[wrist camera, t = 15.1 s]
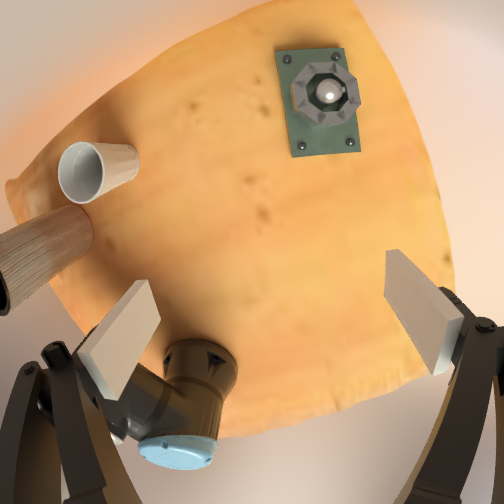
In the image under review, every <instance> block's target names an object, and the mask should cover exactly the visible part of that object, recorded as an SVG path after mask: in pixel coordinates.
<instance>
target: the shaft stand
mask: <svg viewBox="0 0 504 504" xmlns="http://www.w3.org/2000/svg"><path fill="white" fill-rule="evenodd" d="M275 59H276V64H277V70H278V75H279V81H280V86H281V92H282V98H283V104H284V110H285V116H286V122H287V128H288V135H289V142H290V149H291V156H292V158H295V157H304V156H314V155H325V154H337V153H350V152H361V147H360V139H359V131H358V123H357V116H356V111H355V112H354V113H353V114H352V116H351V117H350V118H349V119H348V121H347V122H346V123H343V124H340V125H336V126H324V127H311V126H309V125H308V124H307V123H305V122H304V121H303V120H301V119H300V118H299V117H297V116H296V115H295V114H293V112H292V106H291V100H290V94H289V89H290V86H291V83H292V81H293V80H294V79H295V78H296V77H297V75H298V74H299V73H300V72H301V71H302V69H303V68H304V67H305V66H306V65H307V64H308V63H314V62H336V63H337V64H339V65H340V66H341V67H343V68H344V69H345V70H346V71H348V66H347V61H346V56H345V52H344V48H315V49H297V50H285V51H275ZM348 72H349V71H348ZM306 91H307V97H308V102H310V103H311V104H312V105H314V106H315V107H316V108H318V109H319V110H320V111H321V112H333V110H334V109H335V108H336V107H337V100H338V99H339V98H340V97H341V95H342V94H343V93H344V92H345V87H341V85H340V84H339V83H338V82H337V81H336V80H333V79H325V80H323V81H322V82H321V83H309V84H308V85H307V86H306Z"/></svg>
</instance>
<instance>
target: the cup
mask: <svg viewBox="0 0 504 504" xmlns="http://www.w3.org/2000/svg"><path fill="white" fill-rule="evenodd" d="M139 167H140V159H139V155H138V153H137V151H136V150H135V149H134V148H133V147H132V146H130V145H127V144H109V143H96V142H85V141H80V142H76V143H73V144H71V145H70V146H69V147H68V148H67V149H66V150H65V151H64V153H63V154H62V156H61V159H60V162H59V166H58V180H59V184H60V187H61V189H62V191H63V193H64V194H65V196H66V197H67V198H68V199H70V200H71V201H73V202H75V203H78V204H85V203H89V202H91V201H92V200H94V199H96V198H97V197H99V196H101V195H103V194H104V193H106V192H108V191H110V190H112V189H114V188H116V187H118V186H120V185H121V184H123V183H126V182H129V181H131V180H132V179H133V178H134V177H135V176H136V175H137V173H138V171H139Z"/></svg>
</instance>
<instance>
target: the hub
mask: <svg viewBox="0 0 504 504" xmlns="http://www.w3.org/2000/svg"><path fill="white" fill-rule="evenodd" d="M325 79H333V80H336V81H337V82H338V83H339V84H340V85H341V87H345V92H344V93H343V94H342V95H341V97H340V98H339V99H338V100H337V107H336V108H335V109H334V110H333V112H321V111H320V110H319V109H318V108H316V107H315V106H314V105H312V104H311V103H310V102H308V97H307V91H306V86H307V85H308V84H309V83H321V82H322V81H323V80H325ZM289 94H290V100H291V106H292V112H293V114H295V115H296V116H297V117H299V118H300V119H301V120H303V121H304V122H305V123H307V124H308V125H309V126H311V127H324V126H336V125H340V124H343V123H346V122H347V121H348V119H349V118H350V117H351V116H352V114H353V113H354V112H355V111H356V109H357V108H358V107H359V106H360V105H361V101H360V95H359V89H358V84H357V79H356V78H355V77H354V76H353V75H351V74H350V73H349V72H348V71H346V70H345V69H344V68H343V67H341V66H340V65H339V64H337V63H336V62H314V63H308V64H307V65H306V66H305V67H304V68H303V69H302V71H301V72H300V73H299V74H298V75H297V77H296V78H295V79H294V80H293V81H292V83H291V86H290V89H289Z"/></svg>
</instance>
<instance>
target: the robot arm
mask: <svg viewBox="0 0 504 504" xmlns="http://www.w3.org/2000/svg"><path fill="white" fill-rule="evenodd" d="M384 297H385V298H386V300H387V301H388V303H389V304H390V306H391V308H392V309H393V311H394V312H395V314H396V315H397V317H398V319H399V320H400V322H401V323H402V325H403V327H404V328H405V330H406V332H407V333H408V335H409V337H410V338H411V340H412V342H413V343H414V345H415V347H416V348H417V350H418V352H419V354H420V355H421V357H422V359H423V361H424V362H425V364H426V366H427V368H428V370H429V371H430V373H431V375H432V376H434V375H438V374H441V373H444V372H447V371H448V368H449V365H450V362H451V361H452V363H453V364H454V366H455V369H454V371H453V374H452V377H451V379H450V381H449V384H448V385H449V387H448V390H447V393H446V396H445V399H444V402H443V404H442V407H441V410H440V412H439V415H438V417H437V420H436V422H435V425H434V427H433V429H432V432H431V434H430V436H429V439H428V441H427V443H426V445H425V447H424V449H423V451H422V453H421V455H420V458H419V460H418V461H417V463H416V465H415V467H414V469H413V471H412V473H411V475H410V476H409V478H408V480H407V482H406V484H405V485H404V487H403V489H402V490H401V492H400V494H399V495H398V497H397V499H396V500H395V502H394V503H393V504H461V503H462V500H461V499H460V494H461V491H462V489H463V486H464V484H465V481H466V478H467V476H468V474H469V471H470V468H471V465H472V462H473V460H474V457H475V454H476V451H477V447H478V444H479V441H480V437H481V433H482V430H483V426H484V422H485V418H486V413H487V409H488V404H489V399H490V394H491V387H492V382H493V385H494V395H495V409H496V438H497V439H496V466H495V478H494V488H493V495H492V502H491V504H504V326H502V327H497V325H496V324H495V323H494V322H493V321H492V320H491V319H488V318H485V317H476V316H475V315H474V314H473V313H472V312H471V311H470V310H469V309H468V308H467V306H466V305H465V304H464V303H462V301H461V300H460V299H459V298H457V296H456V295H455V294H454V293H453V292H452V291H450V290H448V289H447V288H445V287H439V288H438V287H437V286H436V285H435V284H434V283H433V282H432V281H431V280H430V279H429V278H428V277H427V276H426V275H425V274H424V273H423V272H422V271H421V270H420V269H419V268H418V267H417V266H416V265H415V264H414V263H413V262H412V261H411V260H410V259H408V258H407V257H406V256H405V255H404V254H403V253H402V252H401V251H400V250H399V249H396V250H389V251H386V270H385V288H384ZM160 321H161V317H160V315H159V312H158V309H157V306H156V303H155V300H154V297H153V294H152V291H151V288H150V285H149V282H148V279H144V280H136V281H135V282H134V283H133V285H132V286H131V287H130V288H129V289H128V290H127V292H126V293H125V294H124V295H123V296H122V297H121V299H120V300H119V301H118V302H117V303H116V304H115V306H114V307H113V308H112V309H111V310H110V312H109V313H108V314H107V315H106V316H105V318H104V319H103V320H102V321H101V322H100V324H98V325H97V326H96V327H94V328H93V329H92V330H91V331H90V332H89V333H88V335H87V337H85V338H84V340H83V342H81V343H80V345H79V346H78V347H77V348H76V350H75V351H74V352H73V354H72V355H70V353H69V351H68V349H67V347H66V346H65V343H64V342H62V341H55V342H52V343H50V344H48V345H47V346H46V347H45V348H44V349H43V350H42V352H41V356H42V358H43V359H44V361H45V362H46V364H47V366H48V367H49V368H48V369H42V368H41V367H40V365H39V364H38V362H36V361H31V362H27V363H26V364H24V365H23V366H22V368H21V369H20V370H19V373H18V375H17V378H16V381H15V384H14V387H13V389H12V393H11V395H10V398H9V402H8V405H7V408H6V411H5V415H4V419H3V422H2V426H1V430H0V504H142V502H141V500H140V498H139V496H138V494H137V493H136V490H135V488H134V486H133V484H132V482H131V480H130V479H129V476H128V474H127V472H126V470H125V468H124V466H123V463H122V461H121V459H120V456H119V454H118V451H117V449H116V447H115V445H117V444H122V443H123V441H124V439H125V437H126V435H129V436H130V437H132V438H133V439H135V440H137V441H139V444H138V451H139V453H140V454H141V455H142V456H143V457H144V458H145V459H147V460H148V461H150V462H153V463H155V464H157V465H160V466H163V467H167V468H172V469H180V470H193V469H199V468H203V467H205V466H207V465H208V464H209V463H210V462H211V461H212V459H213V456H214V452H215V449H216V446H217V438H218V432H219V426H220V420H221V414H222V408H223V402H224V401H225V399H226V398H227V396H228V395H229V393H230V392H231V390H232V389H233V387H234V385H235V383H236V380H237V373H238V368H237V364H236V362H235V360H234V358H233V357H232V356H231V355H230V353H228V352H227V351H226V350H225V349H224V348H222V347H220V346H219V345H217V344H215V343H212V342H209V341H206V340H201V339H185V340H181V341H178V342H176V343H174V344H173V345H172V346H171V347H170V348H169V349H168V350H167V353H166V355H165V357H164V360H163V379H162V378H160V377H159V376H157V375H156V374H154V373H153V372H151V371H150V370H148V369H147V368H146V367H144V366H143V365H141V364H140V363H139V362H138V361H139V359H140V357H141V356H142V354H143V352H144V350H145V348H146V346H147V345H148V343H149V341H150V339H151V337H152V335H153V334H154V332H155V330H156V328H157V327H158V325H159V323H160ZM37 402H38V404H39V405H40V406H41V407H40V409H39V408H38V404H37Z"/></svg>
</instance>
